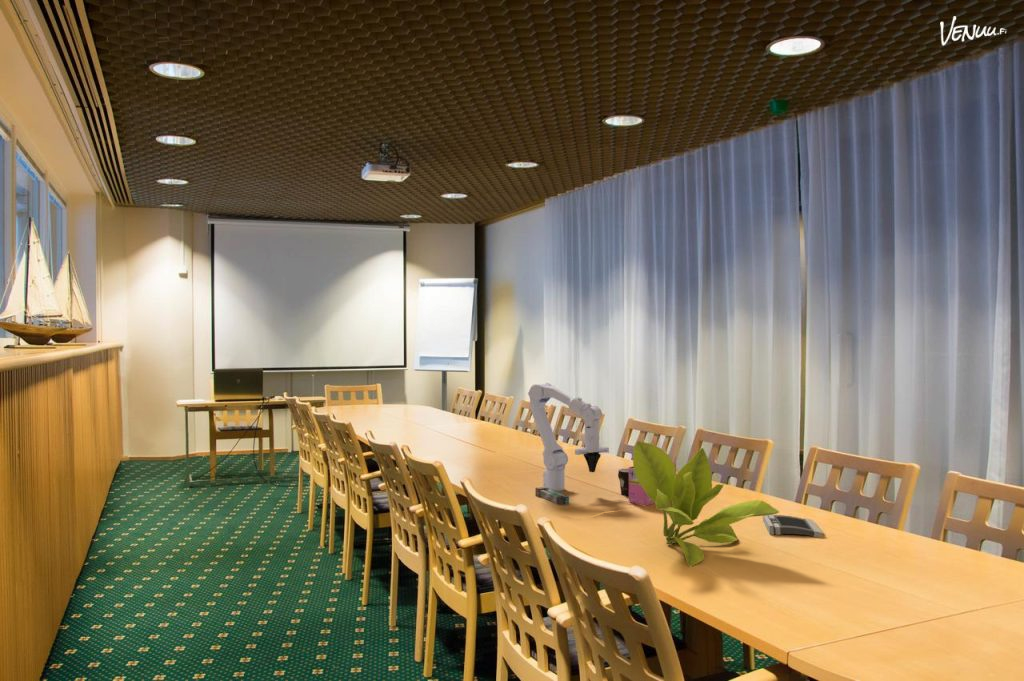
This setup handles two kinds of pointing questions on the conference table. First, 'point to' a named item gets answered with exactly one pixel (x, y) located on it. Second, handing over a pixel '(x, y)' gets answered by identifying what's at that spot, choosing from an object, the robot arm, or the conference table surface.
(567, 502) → the bar
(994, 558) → the conference table surface
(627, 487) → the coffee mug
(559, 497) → the tongs base
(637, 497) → the gum box
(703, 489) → the artificial plant
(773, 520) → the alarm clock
